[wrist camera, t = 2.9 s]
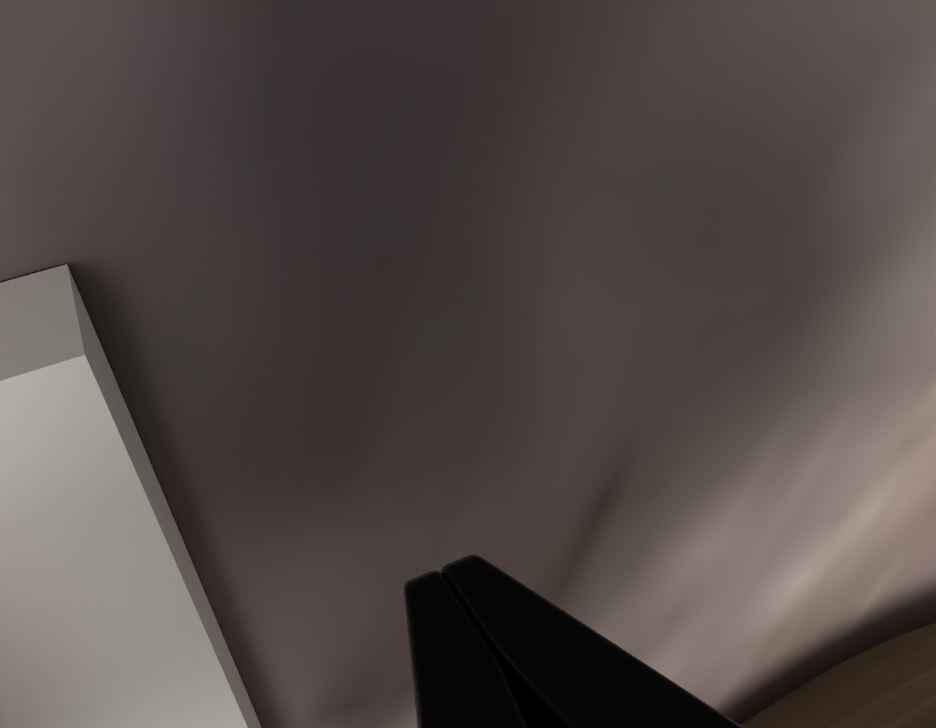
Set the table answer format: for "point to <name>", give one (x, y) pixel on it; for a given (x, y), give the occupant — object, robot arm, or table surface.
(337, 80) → the table surface
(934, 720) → the plant saucer
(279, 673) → the table surface
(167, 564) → the bench slab
